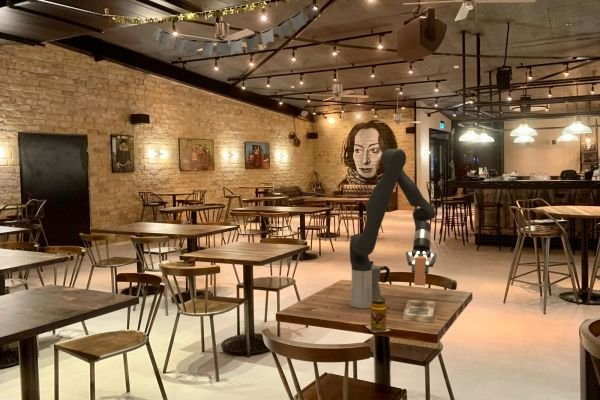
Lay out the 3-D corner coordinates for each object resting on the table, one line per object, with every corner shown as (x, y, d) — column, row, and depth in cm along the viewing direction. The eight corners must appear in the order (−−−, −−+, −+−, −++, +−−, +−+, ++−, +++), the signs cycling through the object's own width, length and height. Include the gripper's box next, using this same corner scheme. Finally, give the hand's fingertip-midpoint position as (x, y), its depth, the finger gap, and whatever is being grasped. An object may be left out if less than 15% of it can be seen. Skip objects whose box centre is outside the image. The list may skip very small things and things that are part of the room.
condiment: (374, 333, 200) (374, 302, 199) (364, 326, 208) (365, 297, 207) (390, 331, 202) (391, 301, 202) (381, 324, 210) (381, 295, 210)
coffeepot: (357, 299, 249) (357, 262, 248) (358, 294, 259) (358, 258, 257) (389, 300, 247) (390, 263, 246) (389, 295, 256) (389, 259, 255)
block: (414, 285, 225) (414, 257, 224) (415, 282, 229) (415, 256, 229) (424, 285, 224) (425, 258, 223) (425, 283, 228) (425, 256, 227)
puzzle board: (402, 320, 216) (403, 313, 216) (408, 304, 239) (408, 298, 239) (432, 322, 213) (432, 315, 213) (434, 306, 236) (434, 300, 235)
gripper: (405, 236, 234) (402, 267, 224) (438, 237, 230) (436, 269, 220) (406, 245, 240) (403, 276, 229) (438, 247, 236) (436, 279, 225)
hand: (419, 273), depth 224 cm, fingers closed on block, 4 cm apart
